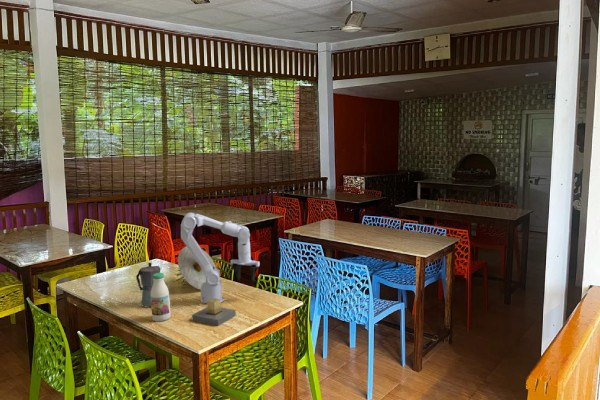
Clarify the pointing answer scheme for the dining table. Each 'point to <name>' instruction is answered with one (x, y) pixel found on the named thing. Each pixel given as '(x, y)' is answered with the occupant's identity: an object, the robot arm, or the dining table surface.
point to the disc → (191, 268)
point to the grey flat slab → (214, 320)
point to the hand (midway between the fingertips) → (245, 279)
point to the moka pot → (147, 282)
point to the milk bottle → (160, 299)
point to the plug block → (213, 306)
